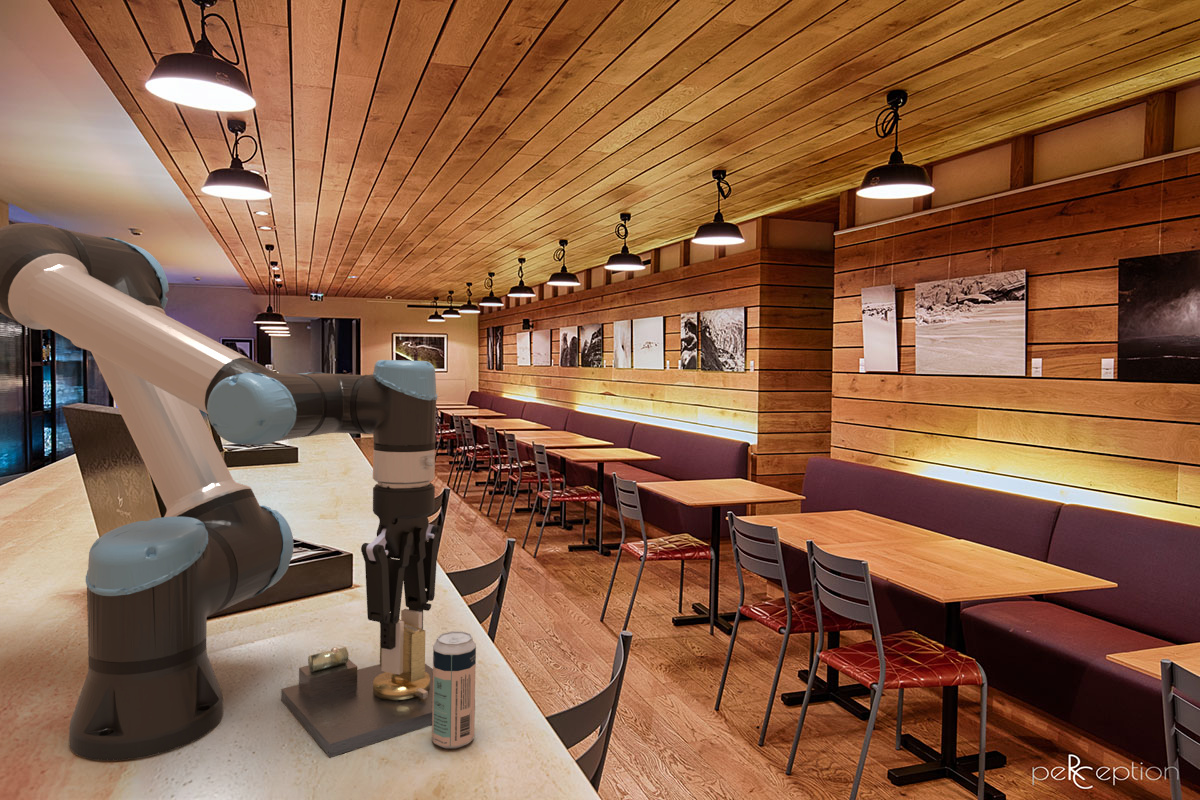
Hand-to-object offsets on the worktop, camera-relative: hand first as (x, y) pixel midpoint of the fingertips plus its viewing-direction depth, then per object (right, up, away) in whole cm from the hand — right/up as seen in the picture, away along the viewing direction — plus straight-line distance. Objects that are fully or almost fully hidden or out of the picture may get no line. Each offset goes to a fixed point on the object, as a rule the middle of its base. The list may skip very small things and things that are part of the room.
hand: (401, 665), depth 93 cm
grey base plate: (-3, -4, -1) cm, 5 cm away
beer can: (+8, -5, -9) cm, 14 cm away
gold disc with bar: (0, -3, 0) cm, 3 cm away
